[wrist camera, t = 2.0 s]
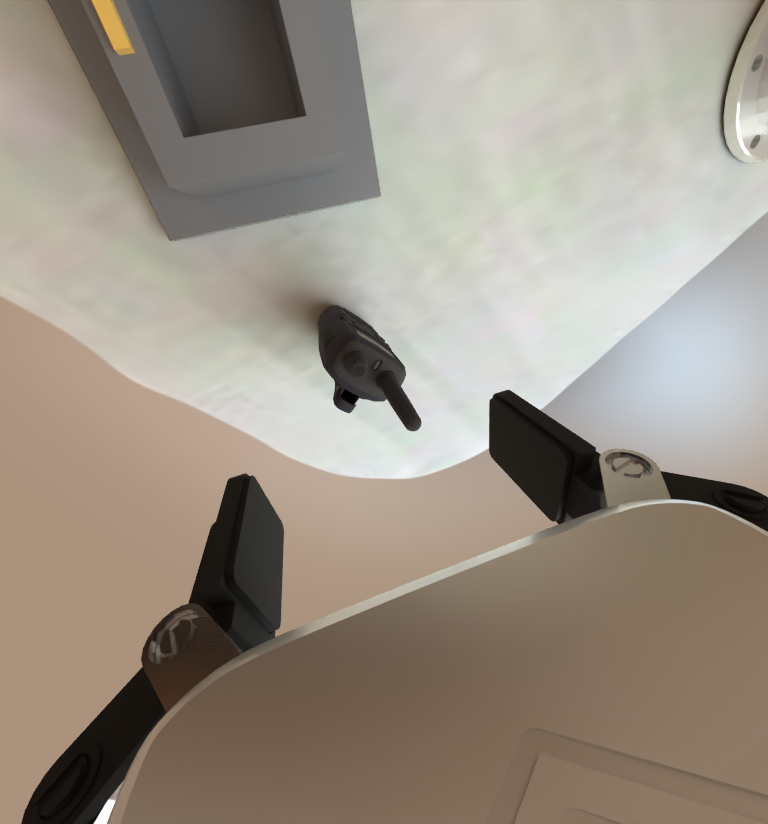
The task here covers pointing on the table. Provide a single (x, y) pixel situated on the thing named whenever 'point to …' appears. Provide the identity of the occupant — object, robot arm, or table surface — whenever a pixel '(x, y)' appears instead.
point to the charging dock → (230, 104)
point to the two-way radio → (362, 365)
